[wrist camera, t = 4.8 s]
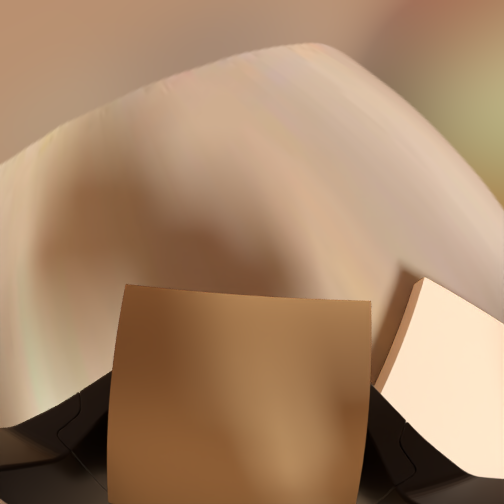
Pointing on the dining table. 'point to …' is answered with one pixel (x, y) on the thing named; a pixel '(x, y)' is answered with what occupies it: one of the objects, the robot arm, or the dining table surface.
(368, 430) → the robot arm
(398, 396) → the plate
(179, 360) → the oak block
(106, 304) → the dining table surface
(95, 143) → the dining table surface
